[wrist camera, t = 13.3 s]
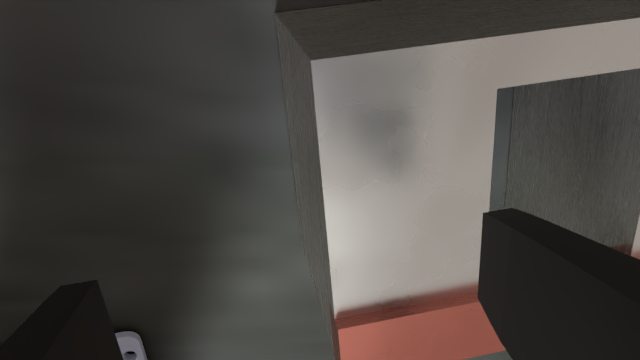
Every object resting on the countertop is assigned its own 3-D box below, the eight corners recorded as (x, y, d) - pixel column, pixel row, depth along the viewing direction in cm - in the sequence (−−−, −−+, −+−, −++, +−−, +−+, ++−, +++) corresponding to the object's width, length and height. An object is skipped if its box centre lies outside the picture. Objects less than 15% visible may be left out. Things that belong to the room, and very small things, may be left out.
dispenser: (595, 191, 23) (750, 297, 16) (301, 243, 21) (342, 384, 15) (633, -30, 19) (858, -7, 12) (274, 12, 17) (314, 64, 11)
